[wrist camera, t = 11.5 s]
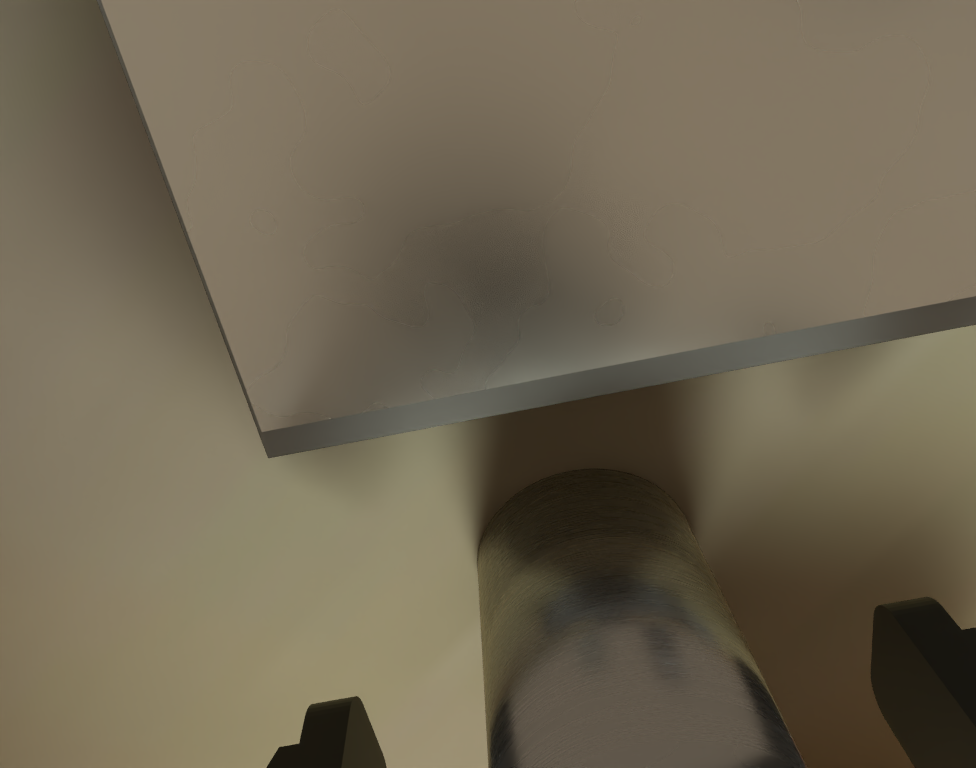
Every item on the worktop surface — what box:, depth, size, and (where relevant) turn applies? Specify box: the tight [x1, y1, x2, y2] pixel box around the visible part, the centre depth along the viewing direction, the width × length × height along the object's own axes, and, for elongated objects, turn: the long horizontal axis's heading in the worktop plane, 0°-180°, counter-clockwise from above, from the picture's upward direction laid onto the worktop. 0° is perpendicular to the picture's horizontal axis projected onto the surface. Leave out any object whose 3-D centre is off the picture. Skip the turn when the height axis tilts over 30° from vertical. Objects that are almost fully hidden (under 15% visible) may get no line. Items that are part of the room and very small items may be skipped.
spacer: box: [478, 469, 807, 768], centre depth 12 cm, size 4×4×6 cm
